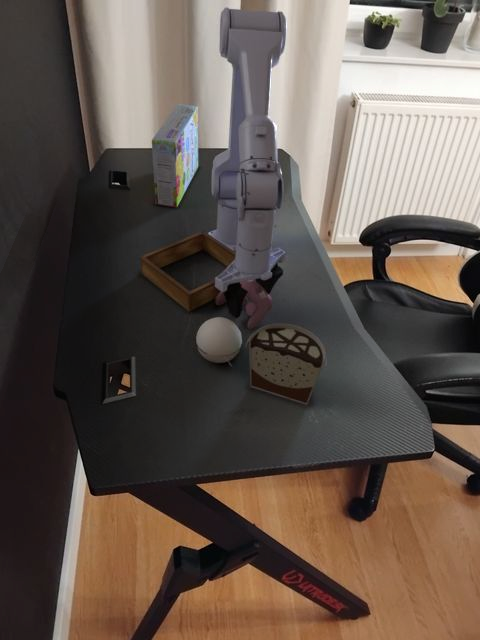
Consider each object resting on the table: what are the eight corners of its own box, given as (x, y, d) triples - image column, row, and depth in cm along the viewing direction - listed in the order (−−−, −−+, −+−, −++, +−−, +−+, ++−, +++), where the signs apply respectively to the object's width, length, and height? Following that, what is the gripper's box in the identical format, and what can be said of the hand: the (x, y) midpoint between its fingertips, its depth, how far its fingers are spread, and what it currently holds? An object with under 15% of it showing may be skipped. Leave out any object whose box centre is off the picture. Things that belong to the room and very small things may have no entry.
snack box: (177, 164, 141) (176, 102, 131) (199, 167, 141) (200, 105, 131) (153, 205, 126) (150, 138, 116) (178, 209, 126) (177, 142, 115)
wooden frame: (203, 247, 116) (203, 230, 113) (251, 280, 109) (253, 263, 106) (141, 273, 107) (139, 256, 104) (189, 311, 100) (189, 294, 98)
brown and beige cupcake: (326, 381, 91) (337, 335, 84) (316, 408, 87) (327, 361, 80) (254, 359, 93) (260, 312, 86) (241, 384, 89) (245, 336, 82)
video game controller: (264, 330, 101) (281, 295, 98) (249, 331, 97) (265, 295, 95) (227, 303, 106) (241, 269, 103) (211, 302, 102) (225, 268, 99)
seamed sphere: (192, 342, 95) (193, 308, 90) (236, 340, 96) (239, 306, 91) (199, 386, 88) (199, 352, 83) (246, 383, 89) (250, 349, 84)
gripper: (238, 269, 85) (232, 336, 94) (302, 238, 93) (292, 302, 102) (207, 247, 88) (205, 314, 98) (272, 219, 96) (264, 283, 106)
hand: (247, 307), depth 100 cm, fingers open, 6 cm apart
